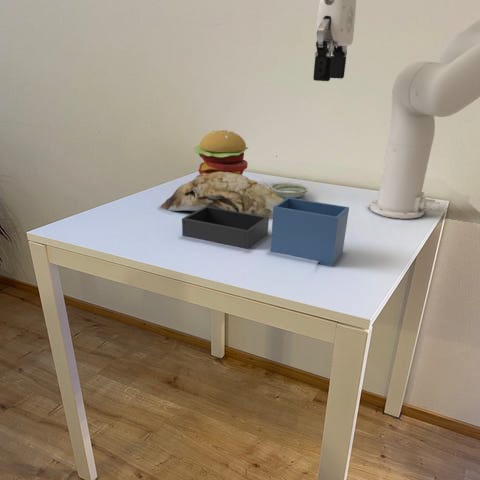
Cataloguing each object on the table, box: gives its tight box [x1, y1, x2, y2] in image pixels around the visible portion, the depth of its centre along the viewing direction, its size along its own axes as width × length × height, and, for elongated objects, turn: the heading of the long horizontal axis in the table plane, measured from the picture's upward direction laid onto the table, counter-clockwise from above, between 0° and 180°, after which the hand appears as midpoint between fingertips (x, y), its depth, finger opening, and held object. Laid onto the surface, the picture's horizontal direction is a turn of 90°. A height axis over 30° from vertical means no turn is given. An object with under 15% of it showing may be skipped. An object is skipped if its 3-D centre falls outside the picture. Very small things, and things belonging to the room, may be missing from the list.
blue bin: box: [270, 198, 350, 267], centre depth 88 cm, size 12×7×9 cm, turn 64°
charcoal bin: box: [181, 206, 270, 250], centre depth 96 cm, size 15×10×4 cm, turn 64°
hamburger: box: [193, 129, 249, 175], centre depth 124 cm, size 16×14×15 cm
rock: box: [160, 172, 285, 219], centre depth 110 cm, size 16×10×30 cm
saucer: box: [270, 182, 309, 200], centre depth 123 cm, size 10×10×2 cm
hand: (329, 79), depth 95 cm, fingers open, 9 cm apart
